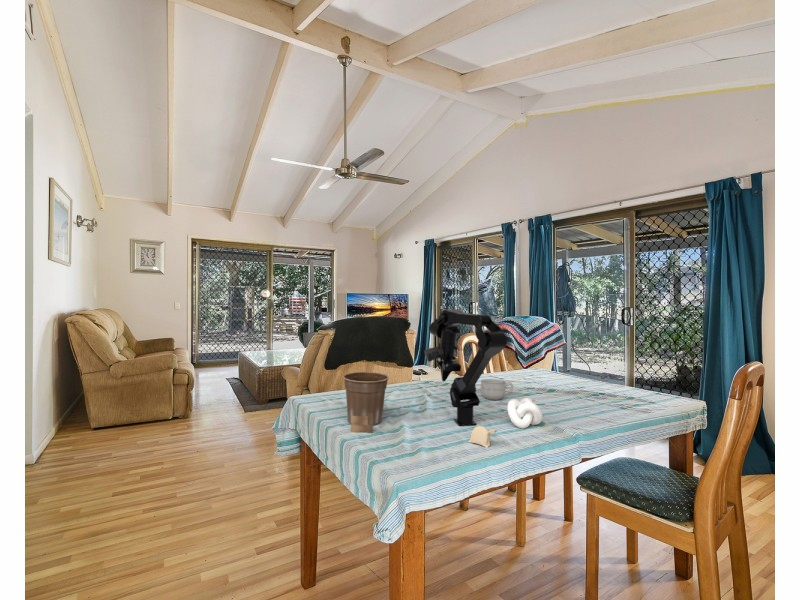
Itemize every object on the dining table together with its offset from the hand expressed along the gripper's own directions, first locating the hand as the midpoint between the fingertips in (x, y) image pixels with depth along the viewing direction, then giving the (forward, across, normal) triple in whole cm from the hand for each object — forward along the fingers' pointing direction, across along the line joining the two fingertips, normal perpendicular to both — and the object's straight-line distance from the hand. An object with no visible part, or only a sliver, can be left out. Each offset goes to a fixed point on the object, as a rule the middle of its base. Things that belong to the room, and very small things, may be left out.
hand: (443, 380), depth 159 cm
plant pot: (+13, +9, -30) cm, 34 cm away
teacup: (+13, -14, +30) cm, 36 cm away
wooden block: (+12, +9, -30) cm, 34 cm away
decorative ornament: (+7, +35, +3) cm, 36 cm away
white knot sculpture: (+8, +20, +24) cm, 32 cm away
